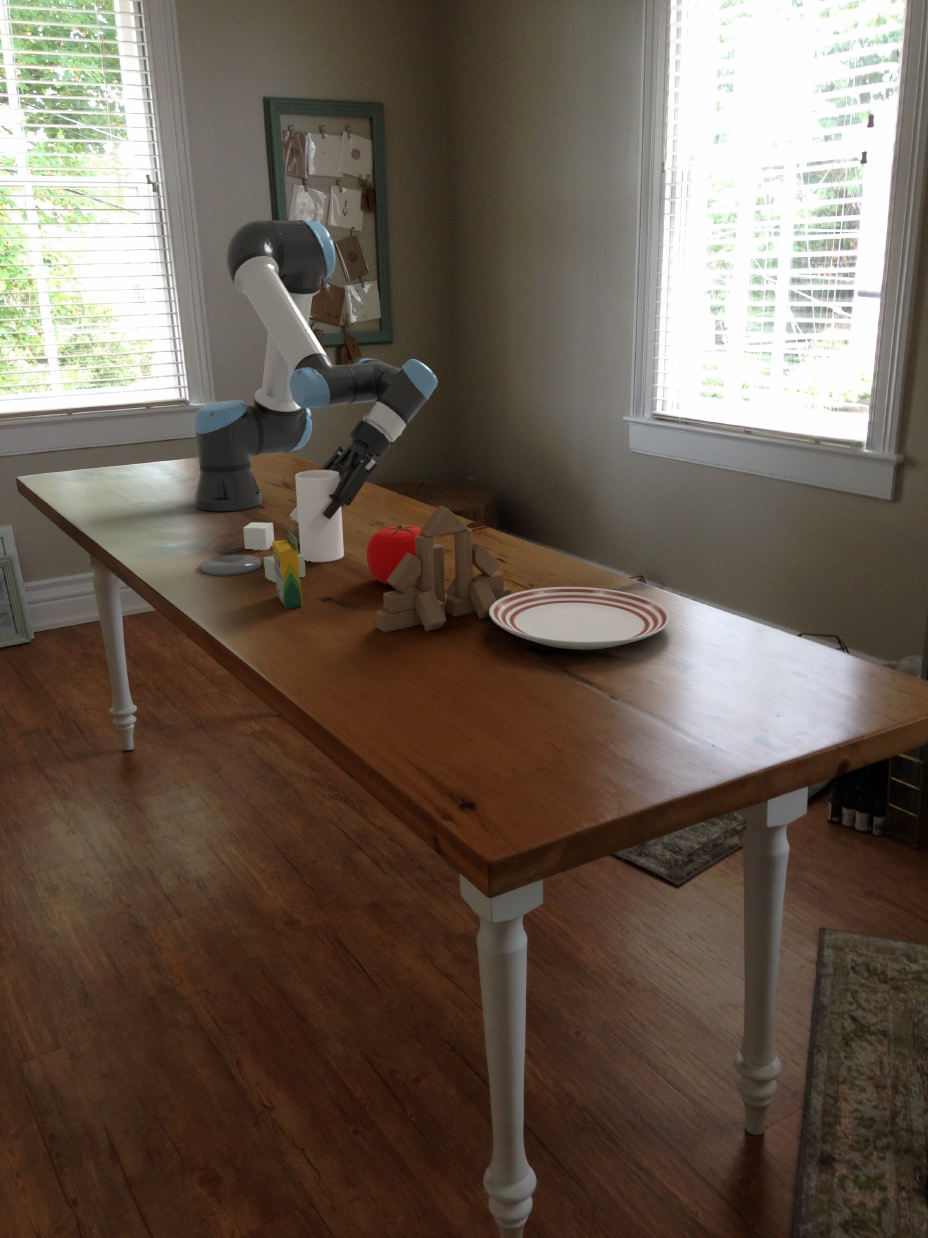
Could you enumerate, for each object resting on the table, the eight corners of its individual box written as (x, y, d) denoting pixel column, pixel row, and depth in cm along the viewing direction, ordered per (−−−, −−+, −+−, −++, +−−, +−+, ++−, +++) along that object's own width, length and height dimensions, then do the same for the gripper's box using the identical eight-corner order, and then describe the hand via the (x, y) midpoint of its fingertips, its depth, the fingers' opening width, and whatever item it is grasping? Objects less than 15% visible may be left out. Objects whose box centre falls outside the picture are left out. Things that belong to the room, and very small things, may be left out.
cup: (347, 550, 204) (343, 469, 198) (338, 562, 196) (334, 478, 191) (306, 550, 205) (301, 469, 199) (296, 561, 197) (290, 478, 192)
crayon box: (276, 596, 177) (270, 530, 173) (293, 594, 178) (288, 528, 174) (284, 609, 171) (279, 540, 167) (302, 606, 171) (297, 538, 168)
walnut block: (291, 543, 210) (289, 519, 208) (304, 537, 214) (303, 514, 212) (312, 546, 208) (310, 521, 206) (325, 540, 212) (324, 516, 210)
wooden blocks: (399, 642, 155) (395, 526, 149) (362, 620, 165) (356, 510, 159) (535, 611, 168) (536, 503, 162) (492, 592, 178) (492, 489, 172)
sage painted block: (265, 578, 187) (263, 557, 186) (295, 572, 191) (293, 551, 190) (275, 583, 184) (274, 562, 183) (305, 577, 188) (304, 556, 186)
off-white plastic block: (245, 549, 206) (243, 527, 204) (253, 543, 210) (251, 522, 209) (266, 550, 205) (265, 528, 204) (274, 544, 209) (272, 522, 208)
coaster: (189, 567, 194) (188, 563, 194) (239, 555, 202) (239, 551, 201) (222, 579, 187) (221, 574, 187) (272, 566, 194) (272, 562, 194)
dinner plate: (555, 592, 178) (556, 573, 177) (701, 624, 161) (703, 603, 160) (452, 636, 158) (452, 615, 157) (607, 678, 141) (607, 655, 140)
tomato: (375, 595, 177) (372, 535, 173) (362, 576, 187) (359, 519, 184) (443, 588, 180) (441, 529, 176) (427, 570, 190) (425, 514, 187)
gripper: (415, 452, 192) (340, 548, 190) (366, 436, 209) (297, 525, 207) (388, 425, 188) (311, 524, 186) (340, 412, 205) (269, 502, 203)
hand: (303, 524), depth 196 cm, fingers closed on cup, 8 cm apart
